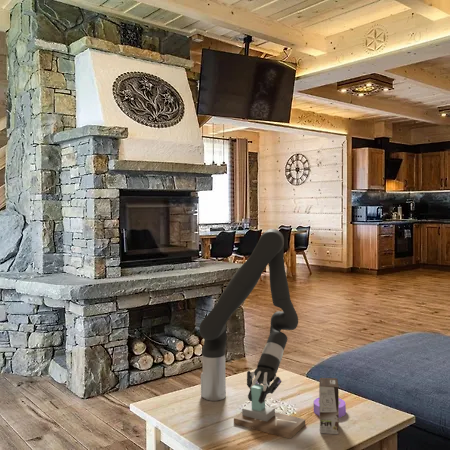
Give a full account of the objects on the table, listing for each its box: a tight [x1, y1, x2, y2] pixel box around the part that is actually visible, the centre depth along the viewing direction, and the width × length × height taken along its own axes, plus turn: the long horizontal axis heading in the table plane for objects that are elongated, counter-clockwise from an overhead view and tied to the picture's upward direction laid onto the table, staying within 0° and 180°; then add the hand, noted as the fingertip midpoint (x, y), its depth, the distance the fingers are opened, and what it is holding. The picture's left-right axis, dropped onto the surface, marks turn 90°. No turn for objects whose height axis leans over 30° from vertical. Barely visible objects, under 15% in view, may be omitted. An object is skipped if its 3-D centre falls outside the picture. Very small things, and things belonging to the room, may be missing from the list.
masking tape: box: [313, 397, 347, 419], centre depth 185 cm, size 12×12×4 cm
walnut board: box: [233, 411, 306, 440], centre depth 176 cm, size 22×12×2 cm, turn 57°
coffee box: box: [318, 377, 340, 435], centre depth 171 cm, size 9×6×16 cm
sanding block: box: [241, 384, 276, 422], centre depth 178 cm, size 10×6×10 cm, turn 57°
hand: (255, 401), depth 176 cm, fingers closed on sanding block, 3 cm apart
